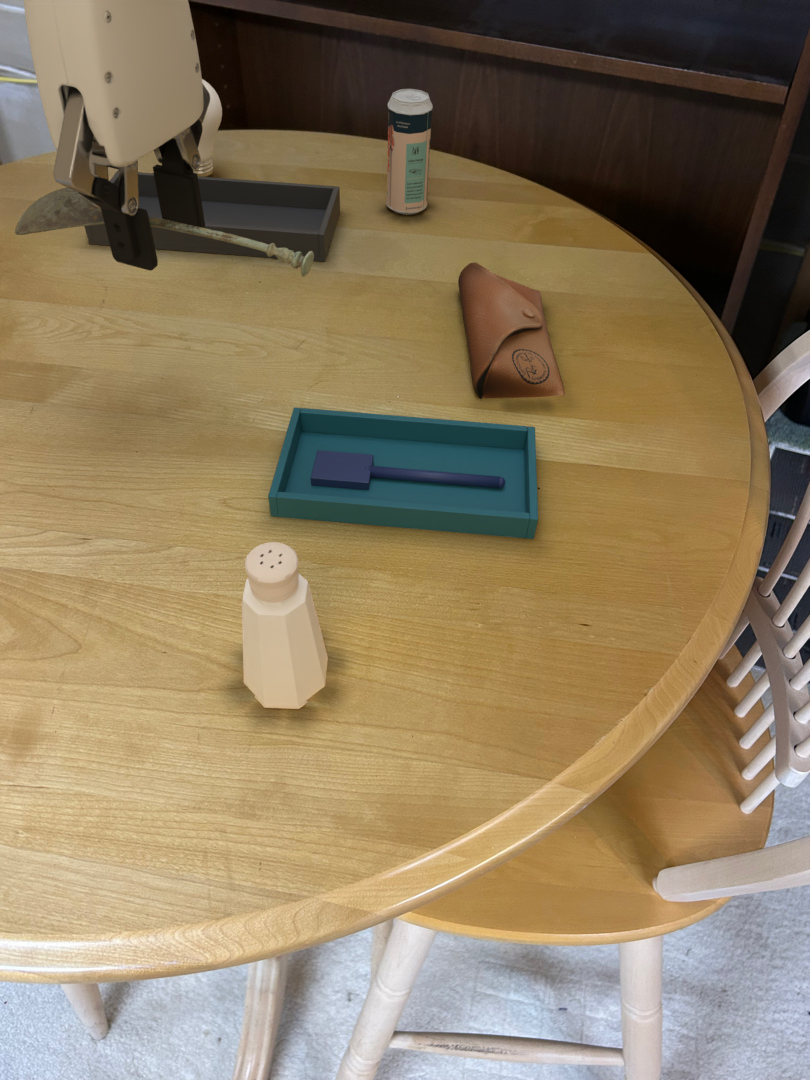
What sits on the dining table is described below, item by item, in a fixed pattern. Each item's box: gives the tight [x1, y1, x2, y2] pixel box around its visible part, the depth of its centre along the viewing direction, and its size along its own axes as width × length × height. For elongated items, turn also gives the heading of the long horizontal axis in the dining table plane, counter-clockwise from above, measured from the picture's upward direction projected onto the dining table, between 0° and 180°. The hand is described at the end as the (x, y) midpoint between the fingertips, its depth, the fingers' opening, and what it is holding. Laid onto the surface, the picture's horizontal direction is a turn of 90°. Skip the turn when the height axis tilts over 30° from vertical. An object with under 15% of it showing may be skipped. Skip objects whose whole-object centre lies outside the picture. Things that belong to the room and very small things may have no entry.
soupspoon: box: [14, 187, 314, 278], centre depth 55 cm, size 22×3×7 cm
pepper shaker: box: [241, 541, 329, 710], centre depth 46 cm, size 5×5×11 cm
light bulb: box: [193, 78, 223, 177], centre depth 92 cm, size 7×7×11 cm
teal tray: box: [267, 406, 539, 540], centre depth 61 cm, size 19×10×2 cm, turn 85°
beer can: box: [385, 88, 434, 216], centre depth 89 cm, size 5×5×12 cm
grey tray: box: [84, 170, 341, 262], centre depth 87 cm, size 25×11×3 cm, turn 85°
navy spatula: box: [311, 450, 505, 490], centre depth 61 cm, size 15×3×1 cm, turn 85°
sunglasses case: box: [457, 261, 566, 400], centre depth 74 cm, size 18×7×7 cm
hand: (160, 242), depth 55 cm, fingers closed on soupspoon, 5 cm apart
